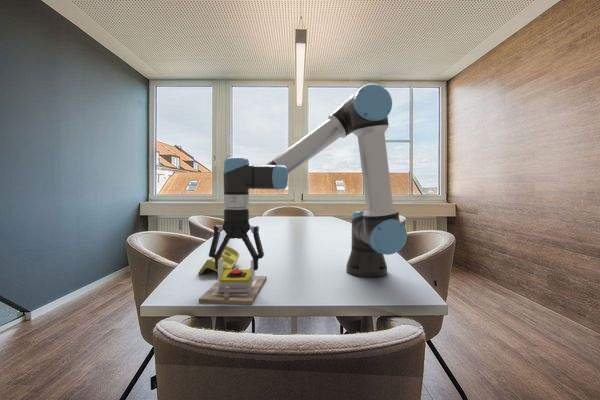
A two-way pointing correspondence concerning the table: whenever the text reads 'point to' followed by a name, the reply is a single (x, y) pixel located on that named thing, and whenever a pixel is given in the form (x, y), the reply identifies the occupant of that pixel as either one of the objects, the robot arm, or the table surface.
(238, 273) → the emergency button
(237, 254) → the plastic component
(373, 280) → the table surface
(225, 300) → the nest plate
